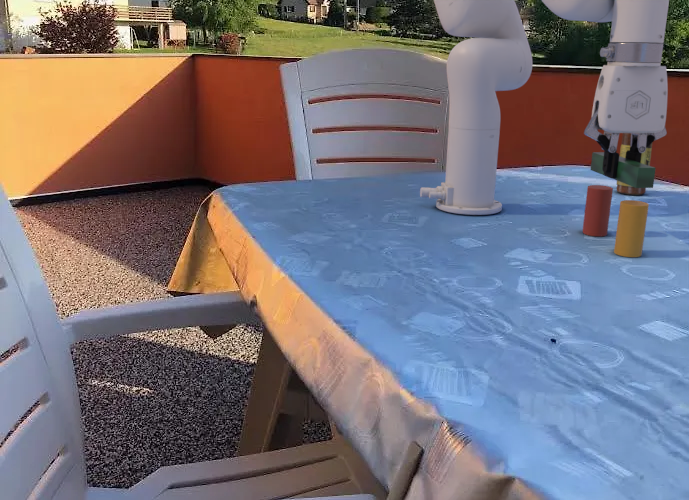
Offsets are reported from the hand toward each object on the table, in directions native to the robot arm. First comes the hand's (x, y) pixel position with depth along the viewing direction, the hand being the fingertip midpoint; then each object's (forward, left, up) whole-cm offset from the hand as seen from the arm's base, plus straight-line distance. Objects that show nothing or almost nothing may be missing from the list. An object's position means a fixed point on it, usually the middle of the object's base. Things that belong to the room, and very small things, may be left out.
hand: (620, 176), depth 112 cm
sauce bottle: (+23, +40, -11) cm, 48 cm away
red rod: (0, +6, -11) cm, 13 cm away
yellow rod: (0, -6, -11) cm, 13 cm away
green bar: (0, 0, 0) cm, 0 cm away
